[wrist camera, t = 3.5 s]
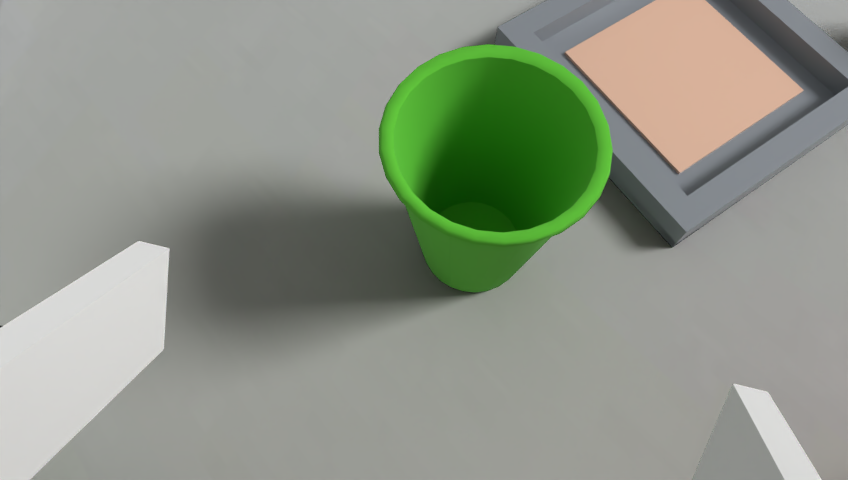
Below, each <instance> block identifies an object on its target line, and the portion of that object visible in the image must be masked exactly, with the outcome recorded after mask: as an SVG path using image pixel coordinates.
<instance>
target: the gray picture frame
mask: <svg viewBox="0 0 848 480" xmlns="http://www.w3.org/2000/svg"><path fill="white" fill-rule="evenodd" d="M495 45H502V46H513V47H518V48H521V49H525V50H528V51H532V52H535V53H539V54H541V55H543V56H545V57H547V58H549V59H551V60H553V61H555V62H557V63H558V64H560V65H562V66H564V67H565V68H566V69H567V70H569V71H570V72H571V73H572V74H574V75H575V76H576V77H577V78H579V79H580V80H581V81H582V82H583V83H584V84H585V86H586V87H587V88H588V89H589V91H590V92H591V93H592V94H593V96H594V97H595V98H596V99H597V101H598V103H599V105H600V107H601V109H602V112H603V114H604V116H605V118H606V120H607V123H608V125H609V130H610V136H611V142H612V148H613V153H612V161H611V170H610V175H609V178H610V179H611V180H612V181H613V182H614V183H615V185H616V186H617V187H618V188H619V189H620V190H621V191H622V192H623V193H624V195H625V196H626V197H627V198H628V199H629V200H630V201H631V202H632V203H633V205H634V206H635V207H636V208H637V209H638V210H639V211H640V212H641V213H642V214H643V216H644V217H645V218H646V219H647V220H648V221H649V222H650V223H651V224H652V226H653V227H654V228H655V229H656V230H657V231H658V232H659V233H660V234H661V236H662V237H663V238H664V239H665V240H666V241H667V242H668V243H669V244H670V246H671V247H674V246H675V245H677V244H678V243H680V242H681V241H682V240H684V239H685V238H687V237H688V236H690V235H691V234H692V233H694V232H695V231H697V230H698V229H700V228H701V227H702V226H704V225H705V224H707V223H708V222H710V221H711V220H712V219H714V218H715V217H717V216H718V215H720V214H721V213H722V212H724V211H725V210H727V209H728V208H730V207H731V206H732V205H734V204H735V203H737V202H738V201H740V200H741V199H742V198H744V197H745V196H747V195H748V194H749V193H751V192H752V191H754V190H755V189H757V188H758V187H759V186H761V185H762V184H764V183H765V182H767V181H768V180H769V179H771V178H772V177H774V176H775V175H777V174H778V173H779V172H781V171H782V170H784V169H785V168H787V167H788V166H789V165H791V164H792V163H794V162H795V161H797V160H798V159H799V158H801V157H802V156H804V155H805V154H807V153H808V152H809V151H811V150H812V149H814V148H815V147H817V146H818V145H819V144H821V143H822V142H824V141H825V140H827V139H828V138H829V137H831V136H832V135H834V134H835V133H836V132H838V131H839V130H841V129H842V128H844V127H845V126H846V125H848V52H847V51H846V50H845V49H844V48H842V47H841V46H840V45H839V44H838V43H837V42H835V41H834V40H833V39H832V38H831V37H830V36H828V35H827V34H826V33H825V32H824V31H823V30H822V29H820V28H819V27H818V26H817V25H816V24H815V23H813V22H812V21H811V20H810V19H809V18H808V17H806V16H805V15H804V14H803V13H802V12H801V11H800V10H798V9H797V8H796V7H795V6H794V5H793V4H791V3H790V2H789V1H788V0H547V1H545V2H543V3H541V4H539V5H537V6H535V7H534V8H532V9H530V10H528V11H526V12H524V13H523V14H521V15H519V16H517V17H515V18H513V19H512V20H510V21H508V22H506V23H504V24H502V25H500V26H499V27H498V29H497V34H496V40H495Z"/></svg>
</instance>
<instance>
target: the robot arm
mask: <svg viewBox="0 0 848 480" xmlns="http://www.w3.org/2000/svg"><path fill="white" fill-rule="evenodd" d="M168 265H169V248H166V247H162V246H158V245H154V244H149V243H145V242H141V241H138V242H136V243H134V244H133V245H131V246H130V247H128V248H126V249H125V250H123V251H122V252H120V253H118V254H117V255H115V256H114V257H112V258H111V259H109V260H107V261H106V262H104V263H103V264H101V265H99V266H98V267H96V268H95V269H93V270H91V271H90V272H88V273H87V274H85V275H84V276H82V277H80V278H79V279H77V280H76V281H74V282H72V283H71V284H69V285H68V286H66V287H64V288H63V289H61V290H60V291H58V292H57V293H55V294H53V295H52V296H50V297H49V298H47V299H45V300H44V301H42V302H41V303H39V304H37V305H36V306H34V307H33V308H31V309H30V310H28V311H26V312H25V313H23V314H22V315H20V316H18V317H17V318H15V319H14V320H12V321H10V322H9V323H7V324H6V325H4V326H0V480H30V479H31V478H32V477H33V476H34V475H35V474H36V473H37V472H38V471H39V470H40V469H41V468H42V467H43V466H44V465H45V464H46V463H47V462H48V461H49V460H51V459H52V458H53V457H54V456H55V455H56V454H57V453H58V452H59V451H60V450H61V449H62V448H63V447H64V446H65V445H66V444H67V443H68V442H69V441H70V440H71V439H72V438H73V437H74V436H75V435H76V434H77V433H78V432H79V431H80V430H81V429H82V428H83V427H84V426H85V425H86V424H87V423H89V422H90V421H91V420H92V419H93V418H94V417H95V416H96V415H97V414H98V413H99V412H100V411H101V410H102V409H103V408H104V407H105V406H106V405H107V404H108V403H109V402H110V401H111V400H112V399H113V398H114V397H115V396H116V395H117V394H118V393H119V392H120V391H121V390H122V389H123V388H124V387H126V386H127V385H128V384H129V383H130V382H131V381H132V380H133V379H134V378H135V377H136V376H137V375H138V374H139V373H140V372H141V371H142V370H143V369H144V368H145V367H146V366H147V365H148V364H149V363H150V362H151V361H152V360H153V359H154V358H155V357H156V356H157V355H158V354H159V353H160V352H161V351H163V350H164V338H165V320H166V302H167V283H168ZM692 480H822V479H821V478H820V476H819V474H818V473H817V471H816V470H815V468H814V466H813V465H812V463H811V461H810V460H809V458H808V456H807V455H806V453H805V452H804V450H803V448H802V447H801V445H800V443H799V442H798V440H797V439H796V437H795V435H794V434H793V432H792V430H791V429H790V427H789V426H788V424H787V422H786V421H785V419H784V417H783V416H782V414H781V412H780V411H779V409H778V408H777V406H776V404H775V403H774V401H773V399H772V398H771V396H770V395H769V393H768V392H767V391H762V390H758V389H754V388H750V387H746V386H742V385H737V384H732V387H731V389H730V391H729V394H728V396H727V398H726V401H725V403H724V405H723V408H722V410H721V413H720V415H719V417H718V420H717V422H716V424H715V427H714V429H713V431H712V434H711V436H710V438H709V441H708V443H707V445H706V448H705V450H704V453H703V455H702V457H701V460H700V462H699V464H698V467H697V469H696V471H695V474H694V476H693V478H692Z"/></svg>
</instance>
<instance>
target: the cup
mask: <svg viewBox="0 0 848 480" xmlns="http://www.w3.org/2000/svg"><path fill="white" fill-rule="evenodd" d="M612 153H613V148H612V142H611V136H610V130H609V125H608V123H607V120H606V118H605V116H604V114H603V112H602V109H601V107H600V105H599V103H598V101H597V99H596V98H595V97H594V96H593V94H592V93H591V92H590V91H589V89H588V88H587V87H586V86H585V84H584V83H583V82H582V81H581V80H580V79H579V78H577V77H576V76H575V75H574V74H572V73H571V72H570V71H569V70H567V69H566V68H565V67H564V66H562V65H560V64H558V63H557V62H555V61H553V60H551V59H549V58H547V57H545V56H543V55H541V54H539V53H535V52H532V51H528V50H525V49H521V48H518V47H513V46H502V45H490V44H487V45H478V46H468V47H462V48H459V49H455V50H452V51H449V52H446V53H443V54H440V55H438V56H436V57H434V58H432V59H431V60H429V61H427V62H426V63H424V64H422V65H420V66H419V67H417V68H416V69H415V70H414V71H413V72H412V73H411V74H410V75H409V76H408V77H407V78H406V79H405V80H404V81H403V82H401V83H400V84H399V86H398V87H397V89H396V90H395V92H394V93H393V95H392V97H391V98H390V100H389V101H388V103H387V105H386V107H385V110H384V113H383V117H382V120H381V124H380V127H379V155H380V158H381V162H382V165H383V169H384V172H385V176H386V178H387V180H388V181H389V183H390V185H391V186H392V188H393V190H394V191H395V193H396V195H397V196H398V198H399V199H400V201H401V202H402V203H403V204H404V205H405V206H406V208H407V211H408V214H409V217H410V219H411V222H412V225H413V228H414V230H415V233H416V236H417V239H418V241H419V244H420V247H421V249H422V252H423V255H424V258H425V260H426V263H427V264H428V266H429V268H430V269H431V271H432V273H433V274H434V275H435V276H436V277H437V278H438V279H439V280H440V281H442V282H443V283H445V284H447V285H448V286H450V287H452V288H455V289H458V290H461V291H466V292H482V291H488V290H491V289H493V288H496V287H499V286H500V285H502V284H503V283H504V282H506V281H507V280H509V279H510V278H511V277H512V276H513V275H514V274H515V273H516V272H517V271H518V270H519V269H520V268H521V267H522V266H523V265H524V264H525V263H526V262H527V261H528V260H529V259H530V258H531V257H532V256H533V255H534V254H535V253H536V252H537V251H538V250H539V249H540V248H541V247H542V246H543V245H544V244H545V243H546V242H547V241H548V240H549V239H550V238H551V237H552V236H554V235H557V234H560V233H562V232H563V231H565V230H566V229H567V228H569V227H570V226H572V225H573V224H575V223H576V222H577V221H579V220H580V219H582V218H583V217H584V216H585V215H586V214H587V212H588V211H589V210H590V209H591V208H592V206H593V205H594V204H595V203H596V202H597V200H598V199H599V198H600V196H601V194H602V192H603V189H604V187H605V185H606V182H607V180H608V178H609V175H610V170H611V161H612Z"/></svg>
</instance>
